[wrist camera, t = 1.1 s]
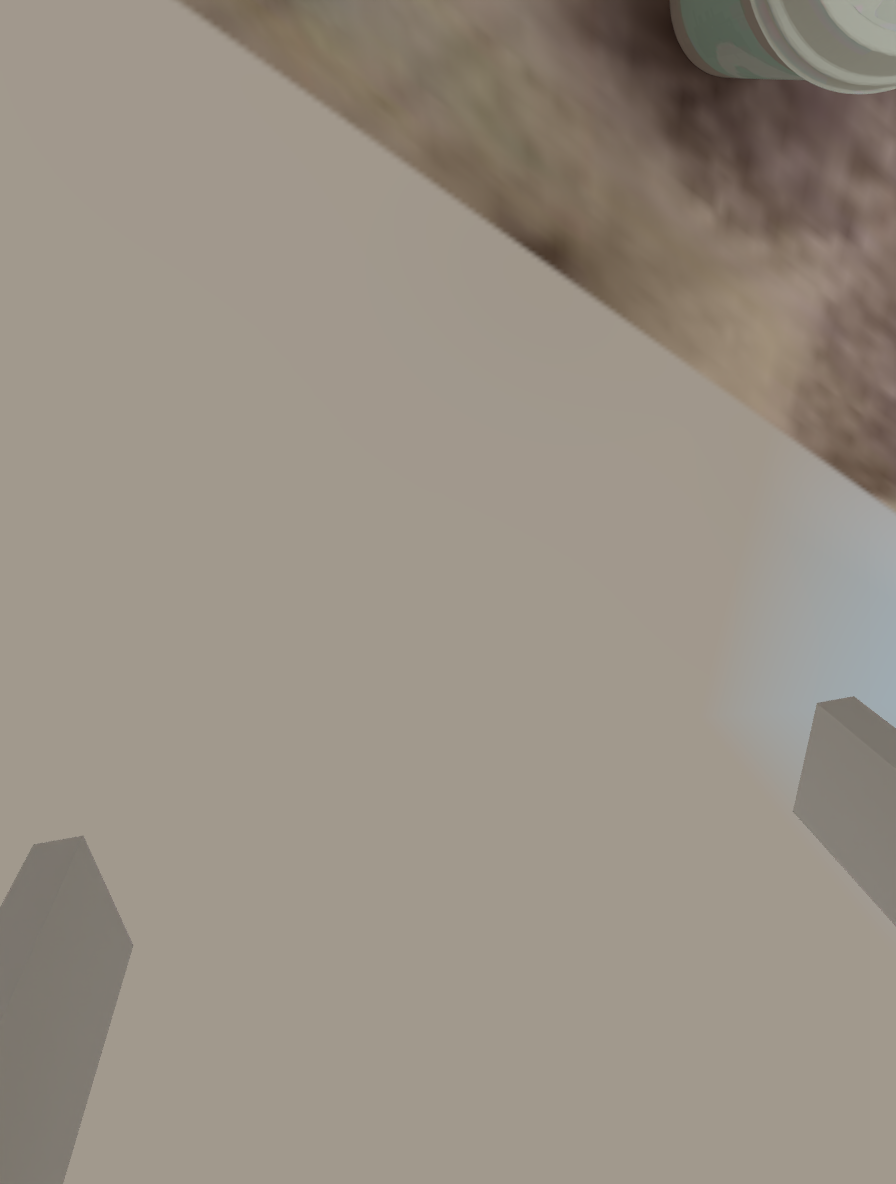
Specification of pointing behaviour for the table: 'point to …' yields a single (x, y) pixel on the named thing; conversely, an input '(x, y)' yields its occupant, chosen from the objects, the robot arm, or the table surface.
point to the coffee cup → (792, 40)
